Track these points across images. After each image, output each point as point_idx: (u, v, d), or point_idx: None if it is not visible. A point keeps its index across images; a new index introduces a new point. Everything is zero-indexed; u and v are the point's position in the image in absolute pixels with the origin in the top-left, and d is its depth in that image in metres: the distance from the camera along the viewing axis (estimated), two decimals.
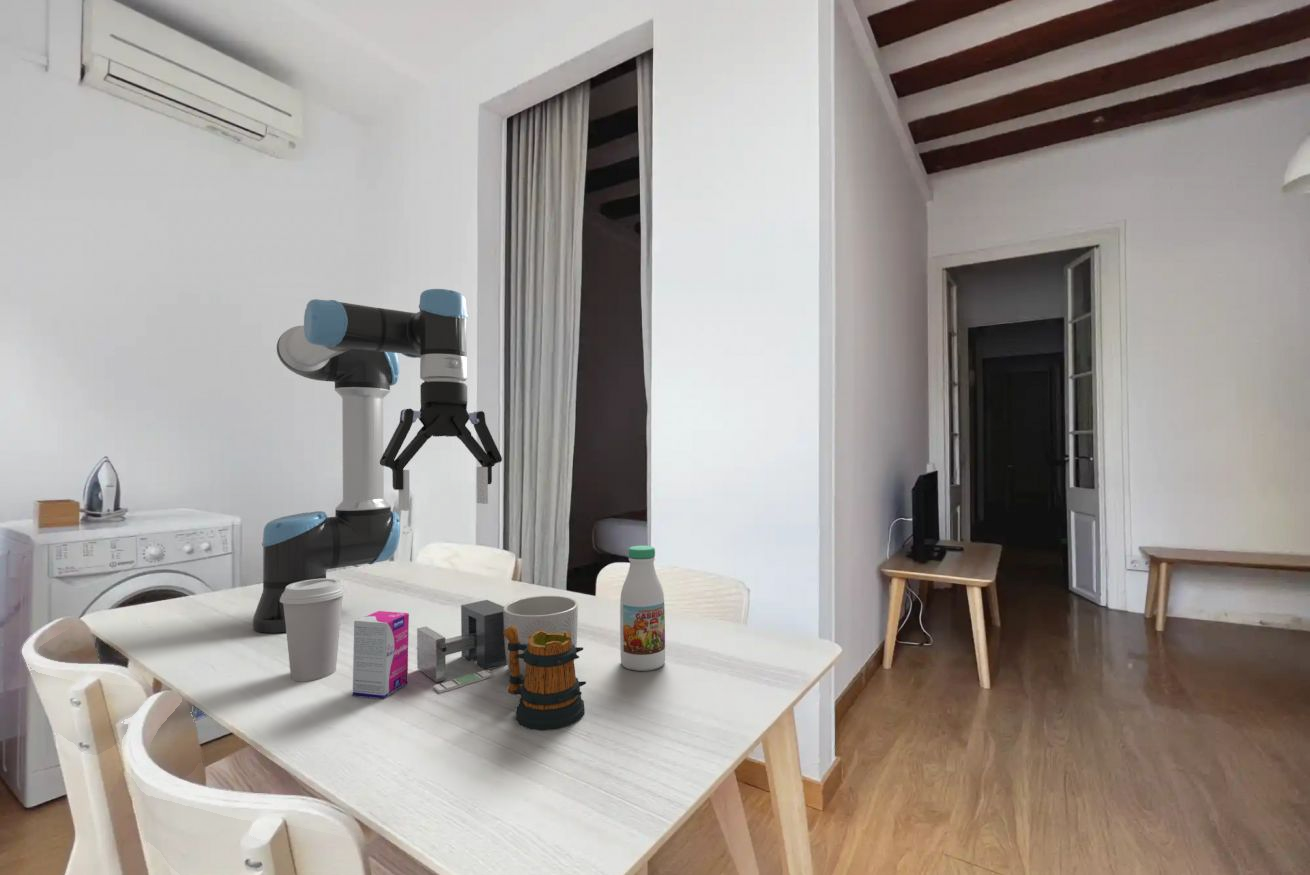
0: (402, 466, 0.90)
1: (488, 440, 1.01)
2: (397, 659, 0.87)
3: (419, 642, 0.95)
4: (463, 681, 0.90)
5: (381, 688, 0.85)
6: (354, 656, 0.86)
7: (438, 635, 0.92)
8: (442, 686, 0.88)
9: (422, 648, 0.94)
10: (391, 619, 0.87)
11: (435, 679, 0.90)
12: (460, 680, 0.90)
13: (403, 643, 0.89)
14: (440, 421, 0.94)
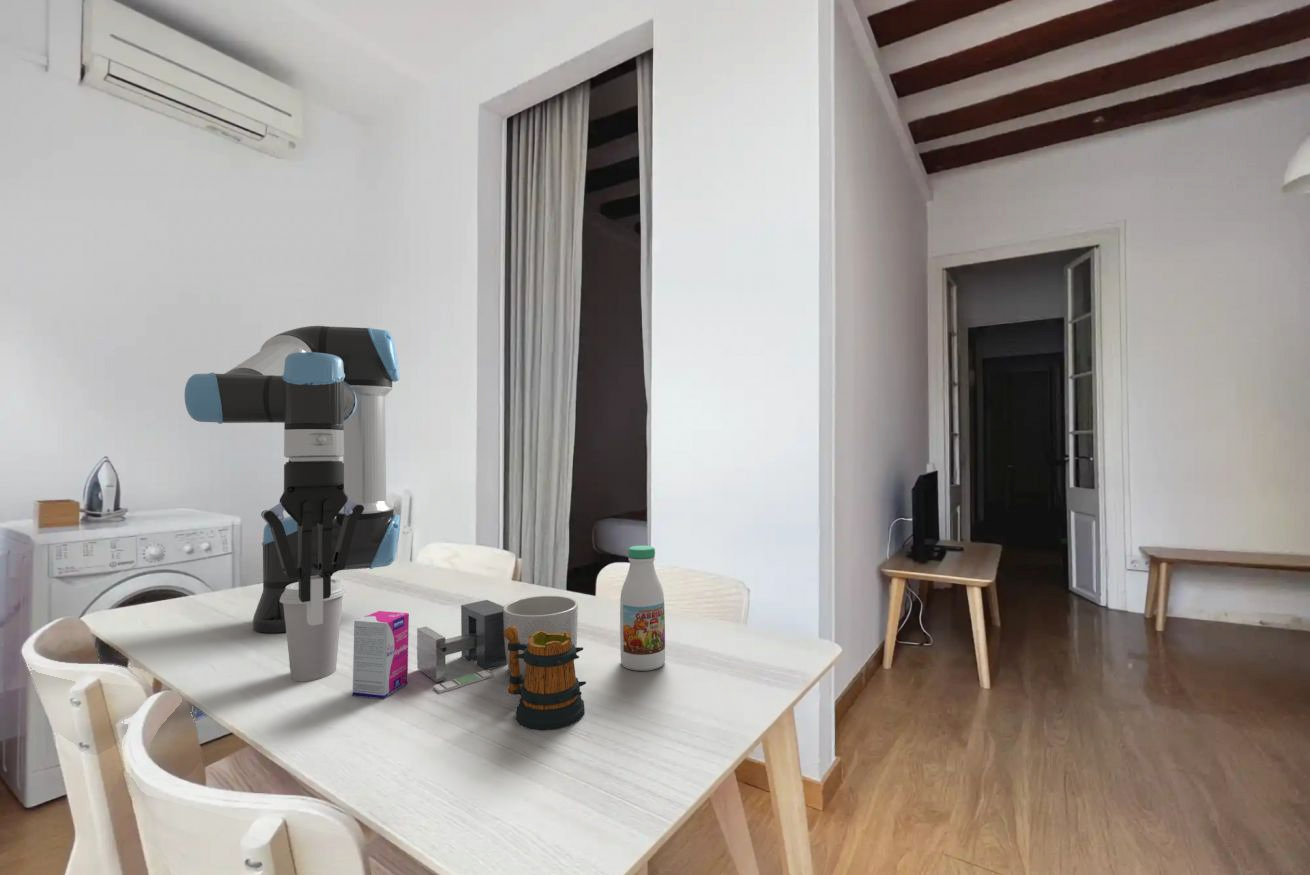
0: (308, 574, 0.80)
1: (345, 539, 0.84)
2: (397, 659, 0.87)
3: (419, 642, 0.95)
4: (463, 681, 0.90)
5: (381, 688, 0.85)
6: (354, 656, 0.86)
7: (438, 635, 0.92)
8: (442, 686, 0.88)
9: (422, 648, 0.94)
10: (391, 619, 0.87)
11: (435, 679, 0.90)
12: (460, 680, 0.90)
13: (403, 643, 0.89)
14: (308, 508, 0.80)
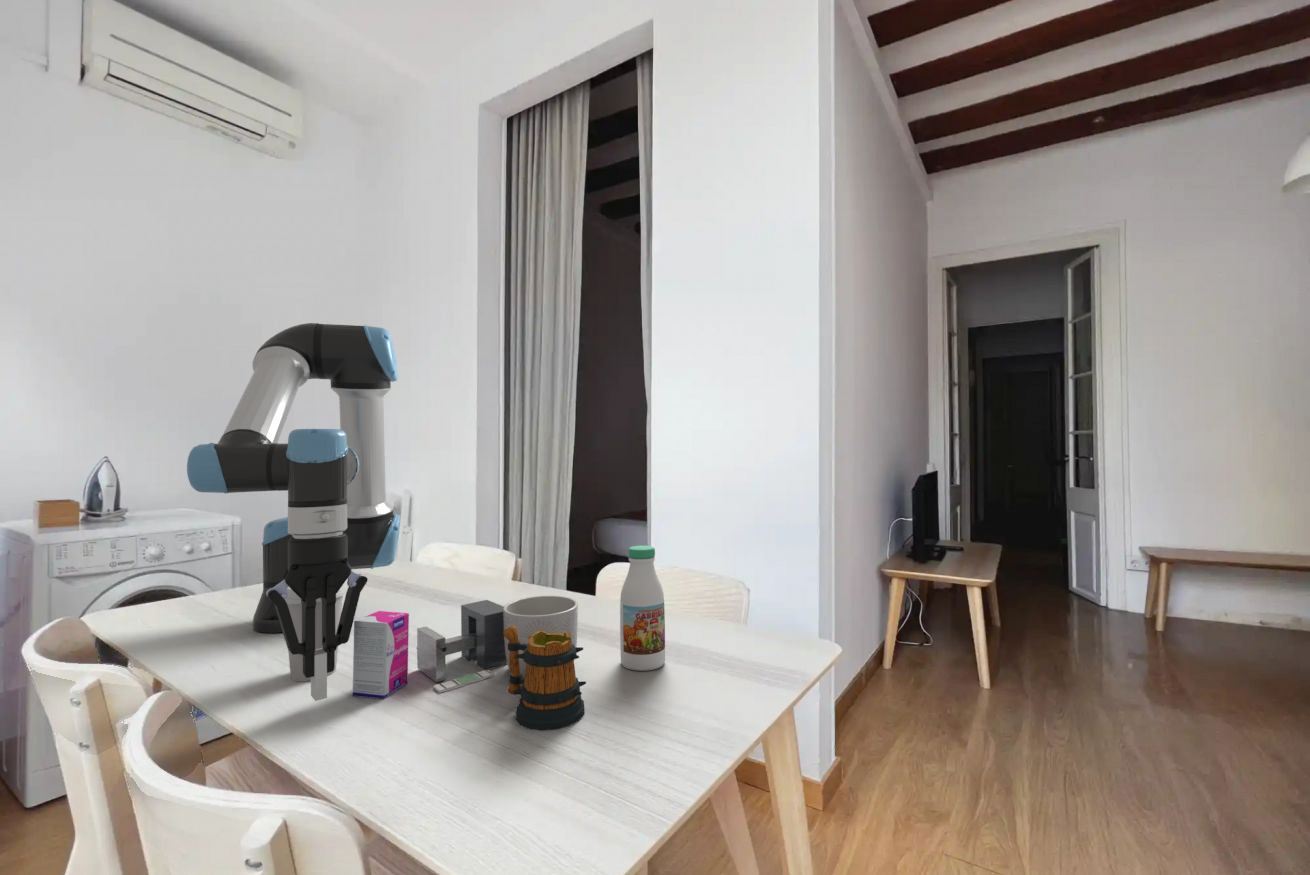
0: (312, 649, 0.81)
1: (348, 612, 0.84)
2: (397, 659, 0.87)
3: (419, 642, 0.95)
4: (463, 681, 0.90)
5: (381, 688, 0.85)
6: (354, 656, 0.86)
7: (438, 635, 0.92)
8: (442, 686, 0.88)
9: (422, 648, 0.94)
10: (391, 619, 0.87)
11: (435, 679, 0.90)
12: (460, 680, 0.90)
13: (403, 643, 0.89)
14: (312, 585, 0.80)
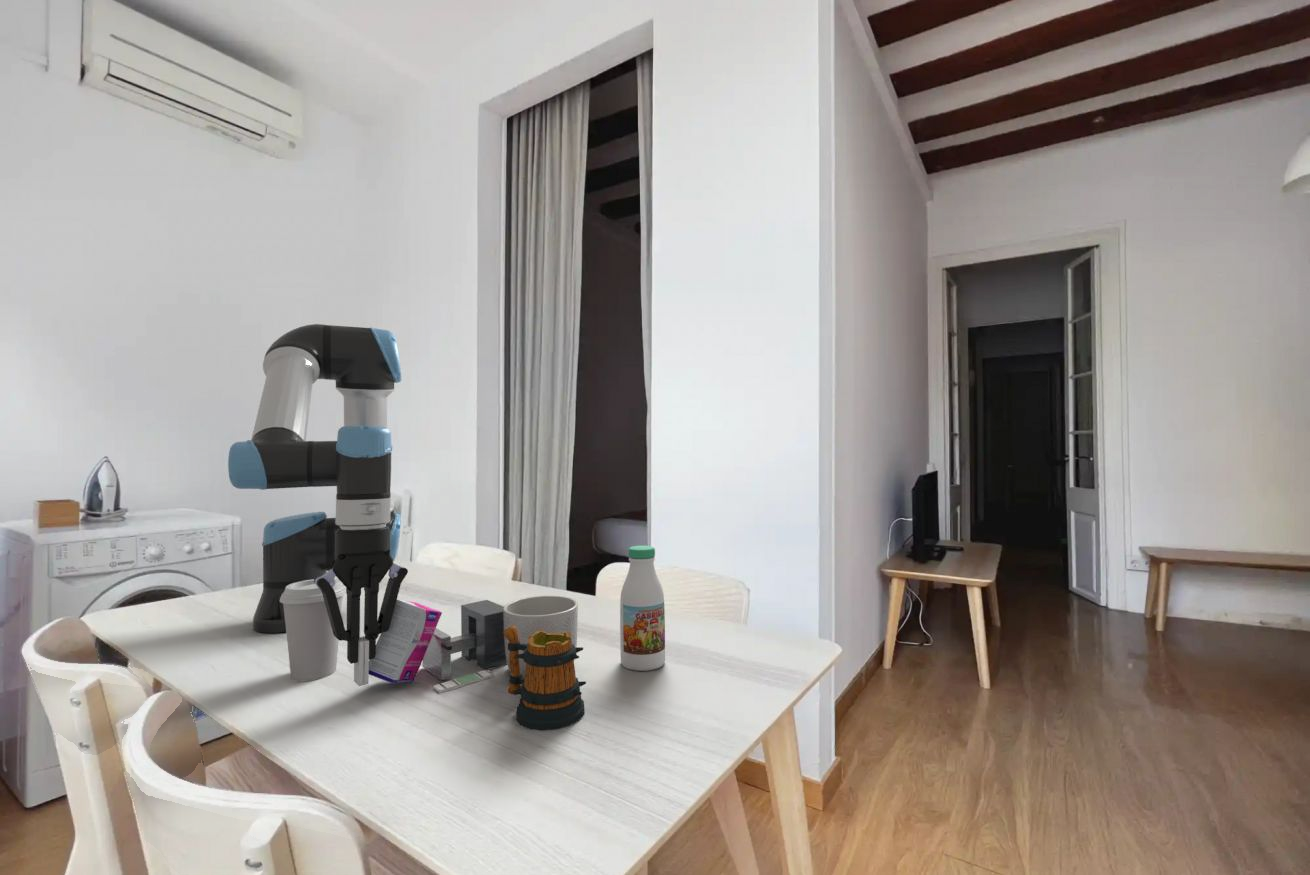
0: (357, 636, 0.84)
1: (390, 601, 0.88)
2: (417, 651, 0.89)
3: None
4: (463, 681, 0.90)
5: (395, 672, 0.86)
6: (382, 633, 0.88)
7: (443, 634, 0.93)
8: (442, 686, 0.88)
9: None
10: (428, 609, 0.91)
11: (440, 677, 0.91)
12: (460, 680, 0.90)
13: (427, 638, 0.91)
14: (358, 574, 0.84)
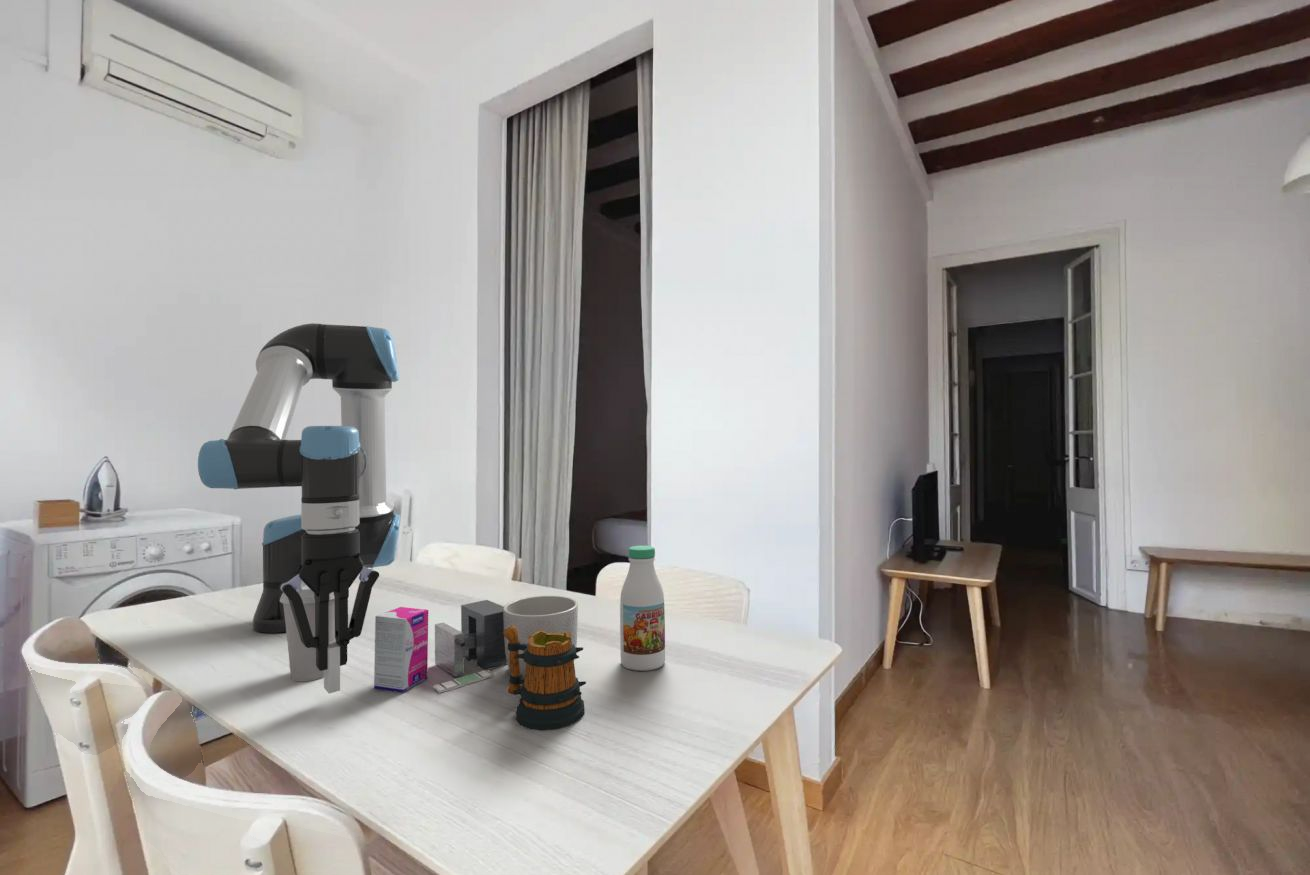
0: (326, 643, 0.82)
1: (361, 606, 0.85)
2: (416, 655, 0.89)
3: (437, 638, 0.97)
4: (463, 681, 0.90)
5: (401, 682, 0.87)
6: (375, 650, 0.88)
7: (456, 631, 0.94)
8: (442, 686, 0.88)
9: (440, 643, 0.96)
10: (410, 615, 0.89)
11: (453, 674, 0.92)
12: (460, 680, 0.90)
13: (422, 639, 0.91)
14: (325, 579, 0.81)
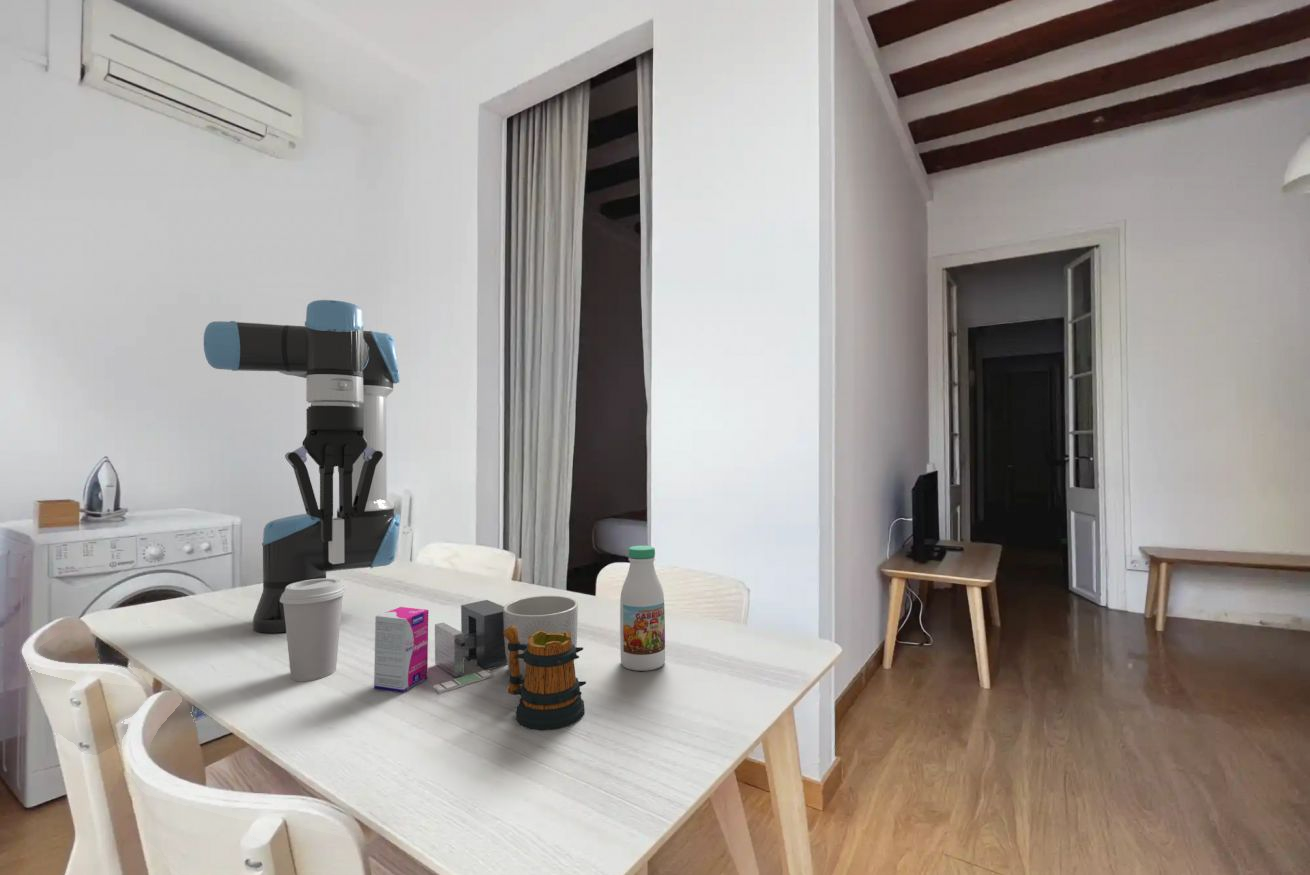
0: (330, 514, 0.83)
1: (365, 483, 0.87)
2: (416, 655, 0.89)
3: (437, 638, 0.97)
4: (463, 681, 0.90)
5: (401, 682, 0.87)
6: (375, 650, 0.88)
7: (456, 631, 0.94)
8: (442, 686, 0.88)
9: (440, 643, 0.96)
10: (410, 615, 0.89)
11: (453, 674, 0.92)
12: (460, 680, 0.90)
13: (422, 639, 0.91)
14: (330, 451, 0.83)
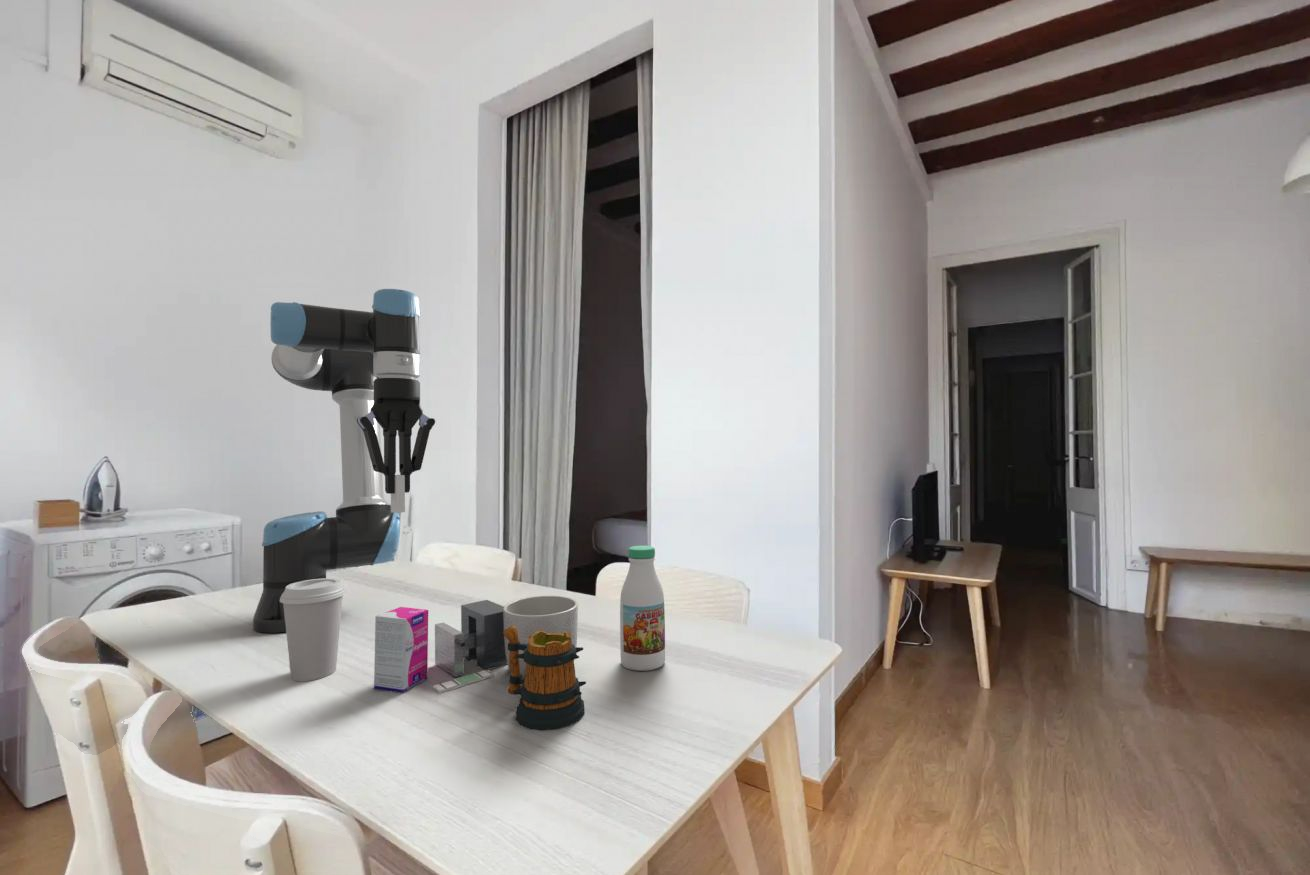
0: (394, 470, 0.98)
1: (421, 445, 1.02)
2: (416, 655, 0.89)
3: (437, 638, 0.97)
4: (463, 681, 0.90)
5: (401, 683, 0.87)
6: (375, 650, 0.88)
7: (456, 631, 0.94)
8: (442, 686, 0.88)
9: (440, 643, 0.96)
10: (410, 615, 0.89)
11: (453, 674, 0.92)
12: (460, 680, 0.90)
13: (422, 639, 0.91)
14: (394, 416, 0.98)
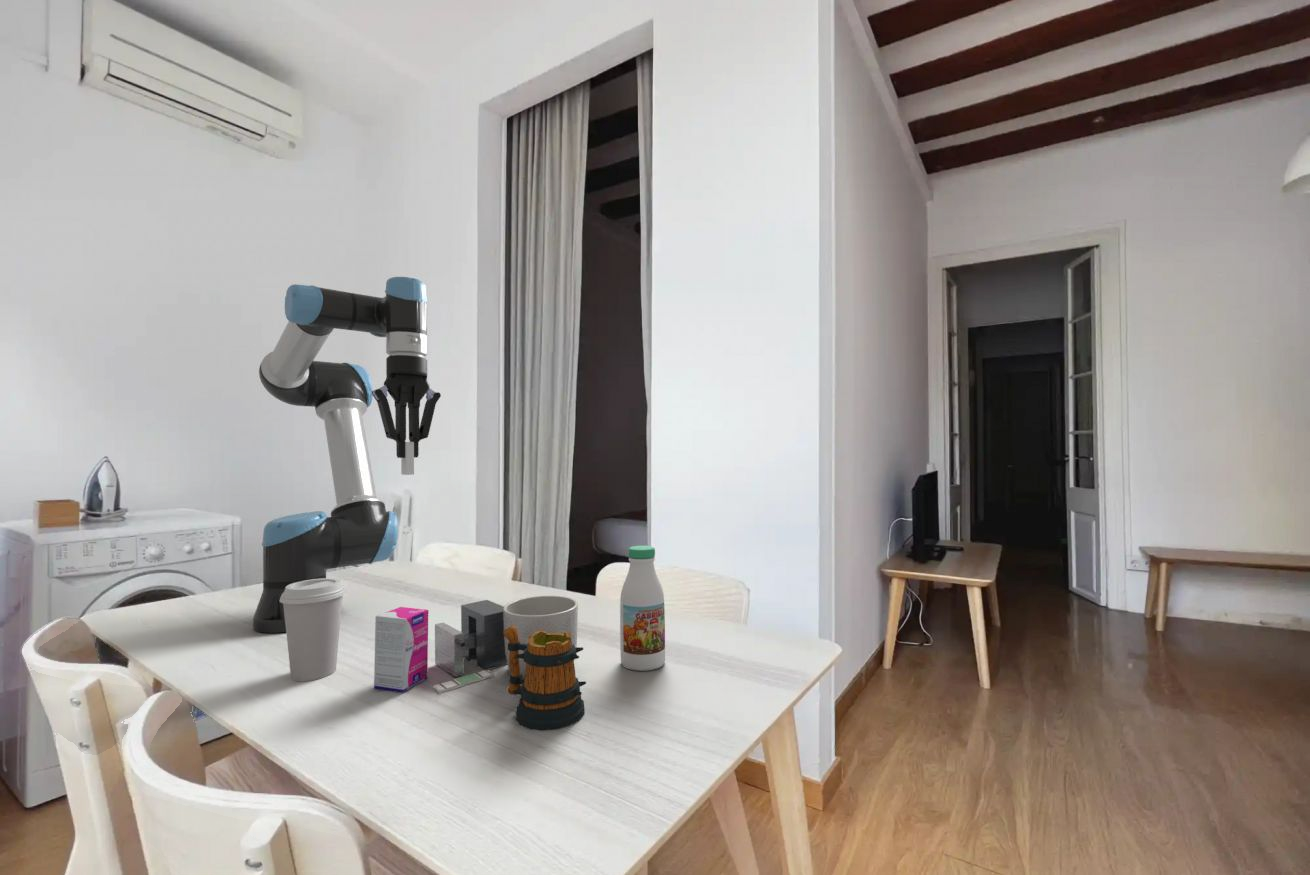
0: (404, 437, 1.11)
1: (428, 416, 1.14)
2: (416, 655, 0.89)
3: (437, 638, 0.97)
4: (463, 681, 0.90)
5: (401, 682, 0.87)
6: (375, 650, 0.88)
7: (456, 631, 0.94)
8: (442, 686, 0.88)
9: (440, 643, 0.96)
10: (410, 615, 0.89)
11: (453, 674, 0.92)
12: (460, 680, 0.90)
13: (422, 639, 0.91)
14: (404, 389, 1.11)
